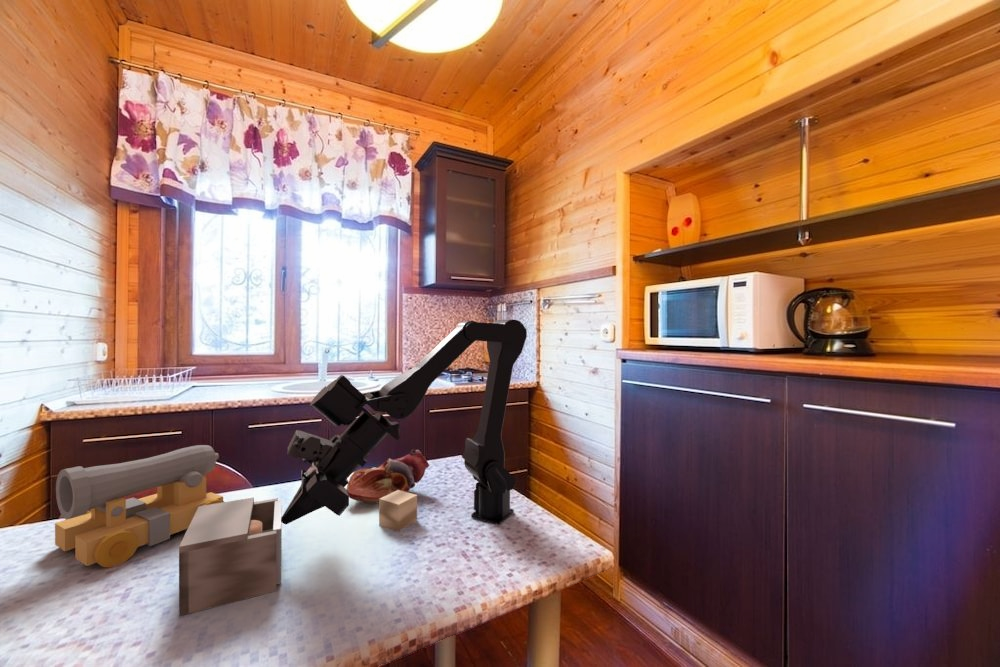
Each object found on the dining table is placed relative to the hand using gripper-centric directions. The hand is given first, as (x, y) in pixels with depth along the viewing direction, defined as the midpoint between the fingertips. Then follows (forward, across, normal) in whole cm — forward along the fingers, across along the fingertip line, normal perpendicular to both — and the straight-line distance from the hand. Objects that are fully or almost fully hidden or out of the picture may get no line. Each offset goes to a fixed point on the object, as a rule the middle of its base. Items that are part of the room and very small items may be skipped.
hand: (283, 522), depth 64 cm
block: (-9, -6, +19) cm, 21 cm away
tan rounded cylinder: (+8, 0, 0) cm, 8 cm away
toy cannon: (+20, -23, -10) cm, 32 cm away
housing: (+9, 0, 0) cm, 9 cm away
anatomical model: (-9, -19, +19) cm, 28 cm away
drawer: (+8, 0, +1) cm, 8 cm away
